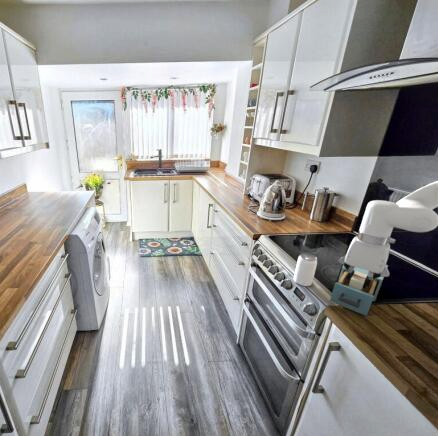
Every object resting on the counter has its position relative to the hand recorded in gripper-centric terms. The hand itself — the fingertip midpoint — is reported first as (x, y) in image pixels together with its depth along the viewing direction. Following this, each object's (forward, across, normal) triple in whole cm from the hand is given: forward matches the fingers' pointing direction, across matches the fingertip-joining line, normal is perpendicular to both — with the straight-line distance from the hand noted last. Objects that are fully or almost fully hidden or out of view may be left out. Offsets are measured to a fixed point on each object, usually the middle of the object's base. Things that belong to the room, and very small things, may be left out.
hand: (356, 283), depth 85 cm
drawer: (+6, 0, +4) cm, 7 cm away
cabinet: (+7, 0, -11) cm, 13 cm away
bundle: (0, 0, 0) cm, 0 cm away
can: (+7, +16, +1) cm, 18 cm away
